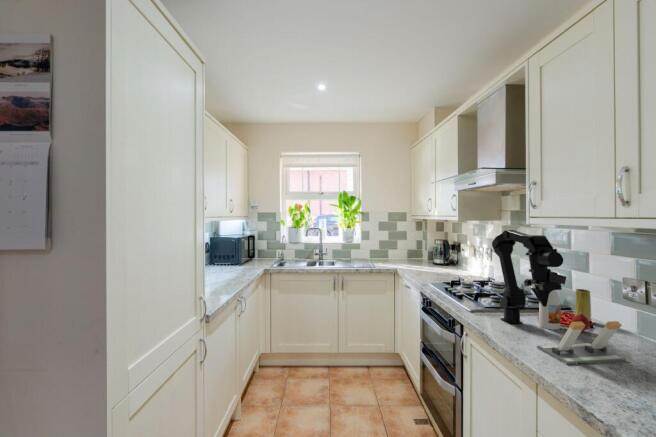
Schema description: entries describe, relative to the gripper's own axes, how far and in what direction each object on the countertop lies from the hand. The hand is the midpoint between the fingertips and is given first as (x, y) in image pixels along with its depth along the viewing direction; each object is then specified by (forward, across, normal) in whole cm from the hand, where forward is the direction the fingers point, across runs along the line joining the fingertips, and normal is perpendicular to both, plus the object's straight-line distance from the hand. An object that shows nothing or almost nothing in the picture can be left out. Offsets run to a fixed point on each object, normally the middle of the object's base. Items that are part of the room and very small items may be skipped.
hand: (544, 306), depth 125 cm
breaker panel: (+15, -9, -5) cm, 19 cm away
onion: (+13, +15, -18) cm, 27 cm away
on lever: (+14, -8, -11) cm, 19 cm away
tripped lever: (+13, -12, +1) cm, 18 cm away
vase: (+12, +29, -26) cm, 41 cm away
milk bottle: (+12, +18, -7) cm, 22 cm away
